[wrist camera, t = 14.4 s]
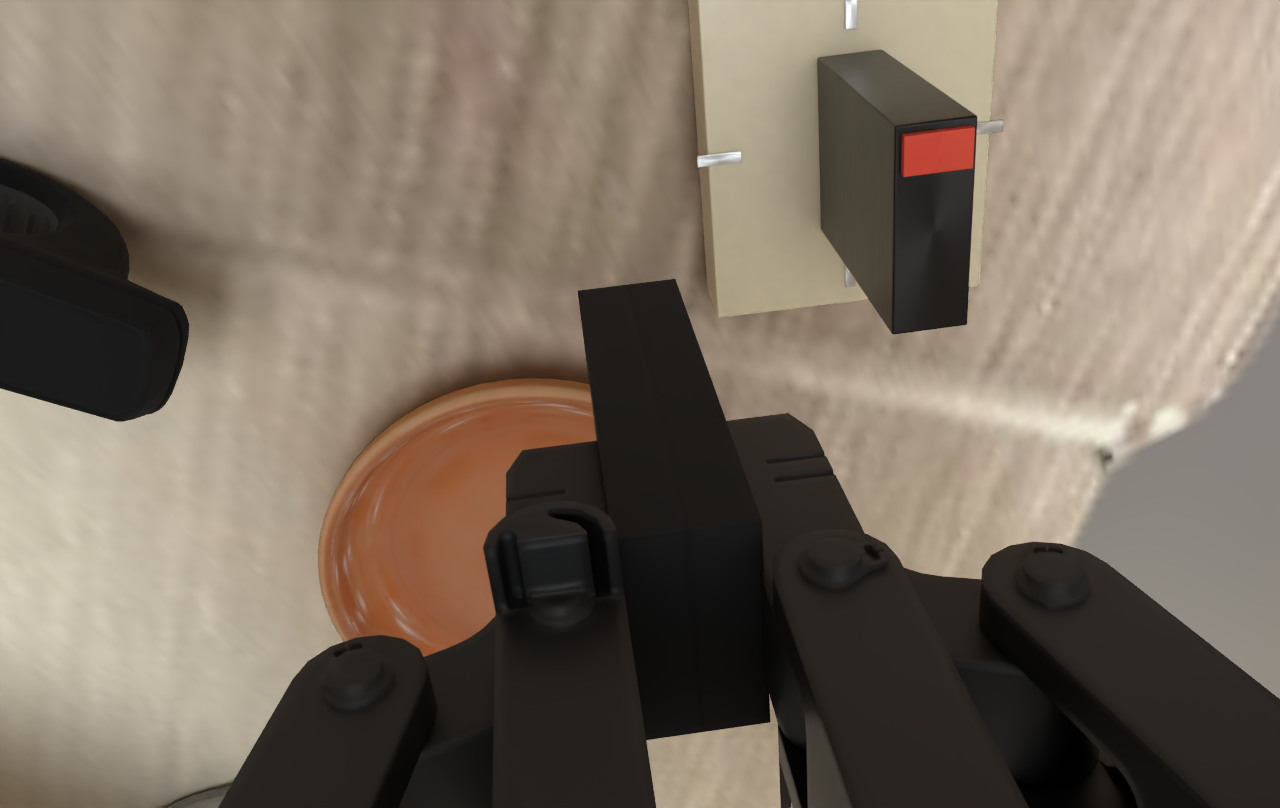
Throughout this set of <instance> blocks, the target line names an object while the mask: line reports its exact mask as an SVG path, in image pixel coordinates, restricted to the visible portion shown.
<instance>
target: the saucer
mask: <svg viewBox="0 0 1280 808" xmlns="http://www.w3.org/2000/svg"><path fill="white" fill-rule="evenodd" d="M590 441H596V433H595V425H594V417H593V409H592V401H591V393H590V385H589V384H586V383H581V382H576V381H569V380H559V379H544V378H523V379H509V380H502V381H494V382H489V383H483V384H478V385H474V386H470V387H467V388H463V389H460V390H457V391H454V392H451V393H449V394H446V395H444V396H441V397H439V398H436V399H434V400H432V401H430V402H428V403H425V404H423V405H422V406H420V407H418V408H417V409H415V410H413V411H411V412H410V413H408V414H406V415H404V416H403V417H402V418H400V419H399V420H397V421H396V422H395V423H393V424H392V425H390V426H389V427H388V428H387V429H386V430H384V431H383V432H382V433H381V434H380V435H379V436H377V437H376V438H375V439H374V440H373V441H372V442H371V443H370V444H369V445H368V446H367V447H366V448H365V449H364V450H363V452H362V453H361V454H360V455H359V456H358V458H357V459H356V460H355V461H354V463H353V464H352V465H351V467H350V468H349V470H348V471H347V473H346V474H345V476H344V478H343V479H342V481H341V482H340V484H339V486H338V487H337V489H336V491H335V493H334V495H333V497H332V499H331V501H330V504H329V506H328V509H327V512H326V514H325V517H324V521H323V525H322V529H321V533H320V538H319V549H318V569H319V580H320V586H321V591H322V595H323V599H324V602H325V606H326V608H327V611H328V613H329V616H330V618H331V620H332V622H333V624H334V626H335V628H336V630H337V632H338V634H339V635H340V637H341V638H342V640H343V641H344V642H345V641H348V640H351V639H353V638H357V637H366V636H375V635H385V636H391V637H397V638H402V639H405V640H406V641H408V642H410V643H411V644H413V645H414V646H416V647H417V648H419V649H420V651H421V653H422V655H423V657H425V656H428V655H430V654H433V653H436V652H438V651H441V650H444V649H446V648H449V647H451V646H454V645H456V644H458V643H460V642H462V641H464V640H466V639H468V638H470V637H471V636H473V635H474V634H476V633H477V632H479V631H480V630H481V629H483V628H484V627H485V626H486V625H487V624H488V623H489V622H490V621H491V620H492V619H493V618H494V617H495V615H496V612H495V607H494V602H493V597H492V592H491V586H490V581H489V576H488V571H487V566H486V561H485V556H484V550H483V546H484V543H485V540H486V538H487V535H488V532H489V531H490V530H491V529H492V528H493V527H494V526H495V525H496V524H497V523H498V522H499V521H500V520H501V519H502V518H504V517H506V473H507V471H508V470H509V468H510V467H511V465H512V464H513V463H514V461H515V460H516V458H517V457H518V455H519V454H520V453H521V451H522V450H527V449H535V448H543V447H551V446H558V445H566V444H574V443H582V442H590Z"/></svg>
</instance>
